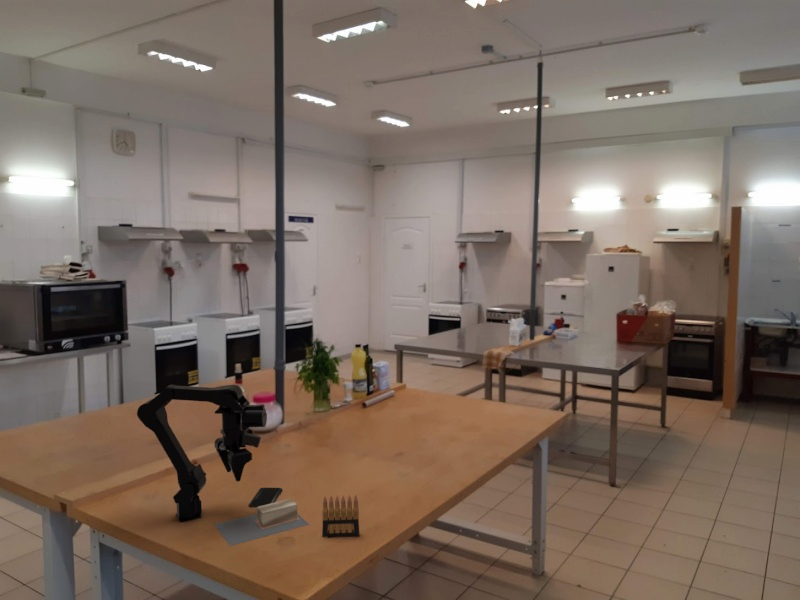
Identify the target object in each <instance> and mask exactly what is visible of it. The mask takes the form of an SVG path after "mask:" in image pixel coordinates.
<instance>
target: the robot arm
mask: <svg viewBox="0 0 800 600" xmlns="http://www.w3.org/2000/svg"><path fill="white" fill-rule="evenodd" d="M243 393H244V392H243V390H242V389H241V387H240V386H239V385H238V384H227V385H220V386H216V387H215V386H214V387H210V386H208V387H205V386H190V385H189V386H188V385H176V384H169V385H168V386H166V387H164V388H163V389H162V390H161V392H160V393H158V394H157V395H156V396H155V397H154V398H152V399H149V400H148V401H146V402H144V403H142V404H141V405H139V407H138V408H137V410H136V411H137V412H136V416H137V418H138V419H139V420H140V422H141V423H142V424H143V425H144V427H146V428H147V429H149V430H150V431H152V432H153V433H154V435H155V437H156V438H157V440H158V441H159V443H160V446H161V447H162V448H163V450H164V452H165V454H166V456H167V457H168V459H169V460H170V462H171V464H172V466H173V468H174V469H175V472H176V476H177V477H176V478H177V483H178V486H179V490H178V491H177V492H176V493H175V494H174V495H173V497H172V498H173V501H174V503H175V504H176V513H175V517H176V519H177V520H178V522H179V523H185V522H188V521H192V520H197V519H202V513H203V509H202V500H201V499H200V496H199V495H198V494H199V493H200V492H201V491H202V489H203V488H204V487H205V486H206V484H207V478H206V477H207V473H206V472H205V471H204V469H203V466H202V465H201V463H198V464H197V465H196V464H194V463H192V461H190V459H189V456H188V455H187V454H186V452H185V450H184V449H183V447H182V445H181V443H180V442H179V440H178V438H177V436H176V434H175V433H174V431H173V429H172V427H171V426H170V424H169V421H168V413H167V409H166V407H167V406H168V405H169V404H170V403H171V402H172V400H174V401H175V400H176V401H191V402H193V401H194V402H207V403H212V404H213V405H216V406H219V407H218V408H217V410H215V411H214V414H215V415H218V414H221V422H222V423H221V425H222V426H221V427H222V429H220V434H221V435H222V437H217V438H216V439H215V440H214V442H213V443H214V449H216V450H215V451H216V452H217V454H218V456H219V458H220V460H221V462H222V464H223V466H224V469H225V471H226V472H227V473H231V472H232V475H233V477H234V479H235V482H240V481H241V479H242V476H243V472H244V469H245V466H246V464H247V463H250V462H251V461H252V460H253V453H252V452H251V451H249V449H247V446H248V447H249V446H251V447H254V448H259V446H260V442H261V439H262V437H261V436H260V435H258V434H256V433H254V432H253V430H252V429H251V428H265V427H267V426H266V425H267V420H268V413H267V410H266V408H265V404H263V403H262V404H251V403H250V402H249V400H248V399H247V398H246V397H245V395H244V394H243ZM242 425H243V426H245V428H246V429H245V430H243V426H242Z"/></svg>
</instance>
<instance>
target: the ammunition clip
mask: <svg viewBox="0 0 800 600" xmlns="http://www.w3.org/2000/svg"><path fill="white" fill-rule="evenodd" d="M347 497H348V498H347V503H346V498H345V496H344V495H342V497H341V503H340V499H339V496H338V495H336V497H335V500H334V499H333V496H332V495H330V497H329V499H327V496H326V495H325V496H324V497H323V499H322V500H323V501H322V517H321V518H322V530H321V531H322V532H321V534H322V535H321V537H323V538H324V537H326V538H328V539H330V538H351V537H352V538H354V537H355V538H356V537H358V538H359V537H360V516H359V513H360V512H359V499H358V496H357V495H356V494H354V498H353V503H352V497H351V495H349V494H348V496H347ZM328 501H329V502H328ZM334 501H335V503H334ZM334 504H335V505H334ZM340 504H341V505H340ZM346 504H347V506H346Z"/></svg>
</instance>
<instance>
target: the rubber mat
mask: <svg viewBox="0 0 800 600" xmlns="http://www.w3.org/2000/svg"><path fill="white" fill-rule="evenodd" d="M213 525H214V526H215V528H216V529H217V531H218V532H219V534H220V535H221V537H223V539H224V540H225V541H226V543H227V544H228V545H229V547H231V546H236V545H239V544H243V543H247V542H250V541H253V540H257V539H261V538H265V537H269V536H272V535H276V534H280V533H283V532H287V531H290V530H293V529H298V528H301V527H305V526H308V525H310V524H309V523H308V521H306V520H305V519H304V518H303V517H302V516H301V515H300V514H299V513H297V519H294V520H290V521H286V522H282V523H279V524H275V525H271V526H267V527H262V526H261V525H260V524H259V523H258V522H257V513H253V514H250V515H245V516H241V517H238V518H233V519H229V520H225V521H222V522H217V523H214V524H213Z"/></svg>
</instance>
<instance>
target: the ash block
mask: <svg viewBox="0 0 800 600" xmlns="http://www.w3.org/2000/svg"><path fill="white" fill-rule="evenodd" d="M256 514H257V522H258V523H259V524H260V525H261V526H262V527H267V526H271V525H275V524H279V523H282V522H286V521H290V520H294V519H297V514H298V504H297V503H296V502H295V501H294V500H293V499H292V498H289V499H283V500H279V501H275V503H271V504H267V505H263V506H259V507H256Z"/></svg>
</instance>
